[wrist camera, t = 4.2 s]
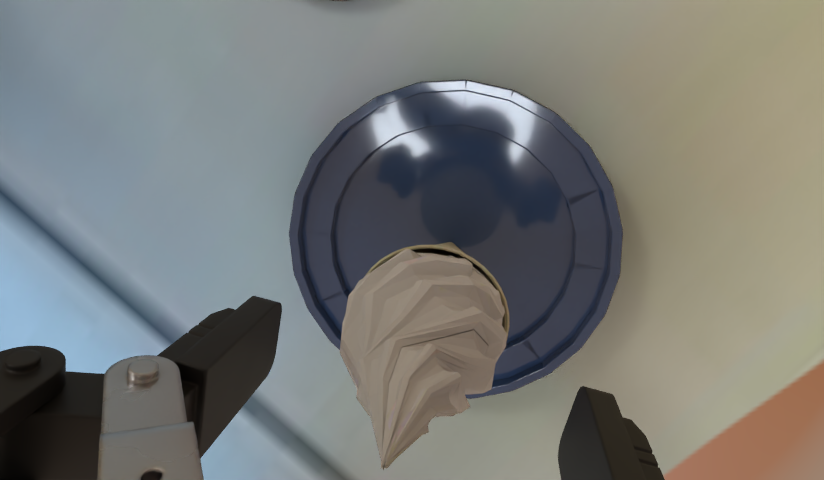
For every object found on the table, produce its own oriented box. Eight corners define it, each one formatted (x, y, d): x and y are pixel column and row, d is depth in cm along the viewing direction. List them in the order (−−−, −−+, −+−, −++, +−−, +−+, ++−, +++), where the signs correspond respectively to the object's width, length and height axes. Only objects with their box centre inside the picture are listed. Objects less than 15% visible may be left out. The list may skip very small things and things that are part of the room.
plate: (247, 243, 26) (230, 253, 25) (444, 6, 22) (439, -2, 20) (456, 429, 27) (454, 451, 26) (684, 241, 23) (699, 253, 21)
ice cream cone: (473, 174, 23) (440, 312, 9) (522, 270, 24) (567, 539, 9) (378, 223, 24) (213, 412, 10) (428, 312, 25) (343, 603, 11)
